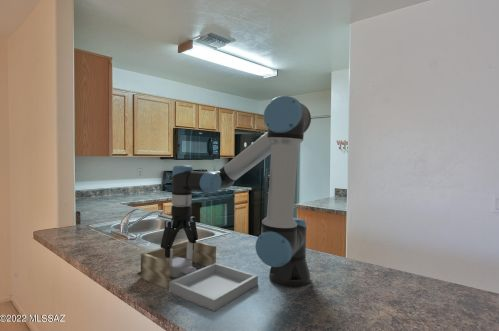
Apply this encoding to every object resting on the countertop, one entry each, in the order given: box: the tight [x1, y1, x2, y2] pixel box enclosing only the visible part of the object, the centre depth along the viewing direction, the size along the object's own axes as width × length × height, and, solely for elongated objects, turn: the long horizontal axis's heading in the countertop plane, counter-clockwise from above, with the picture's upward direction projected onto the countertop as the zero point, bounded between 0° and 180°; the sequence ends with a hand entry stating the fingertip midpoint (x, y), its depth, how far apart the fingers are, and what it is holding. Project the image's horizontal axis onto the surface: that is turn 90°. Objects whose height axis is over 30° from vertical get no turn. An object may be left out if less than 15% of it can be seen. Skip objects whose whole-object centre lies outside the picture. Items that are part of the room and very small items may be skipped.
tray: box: [168, 262, 259, 313], centre depth 99 cm, size 20×22×4 cm
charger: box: [165, 256, 198, 279], centre depth 112 cm, size 5×9×15 cm
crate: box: [140, 239, 217, 290], centre depth 113 cm, size 15×24×9 cm, turn 144°
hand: (179, 262), depth 113 cm, fingers closed on charger, 9 cm apart
